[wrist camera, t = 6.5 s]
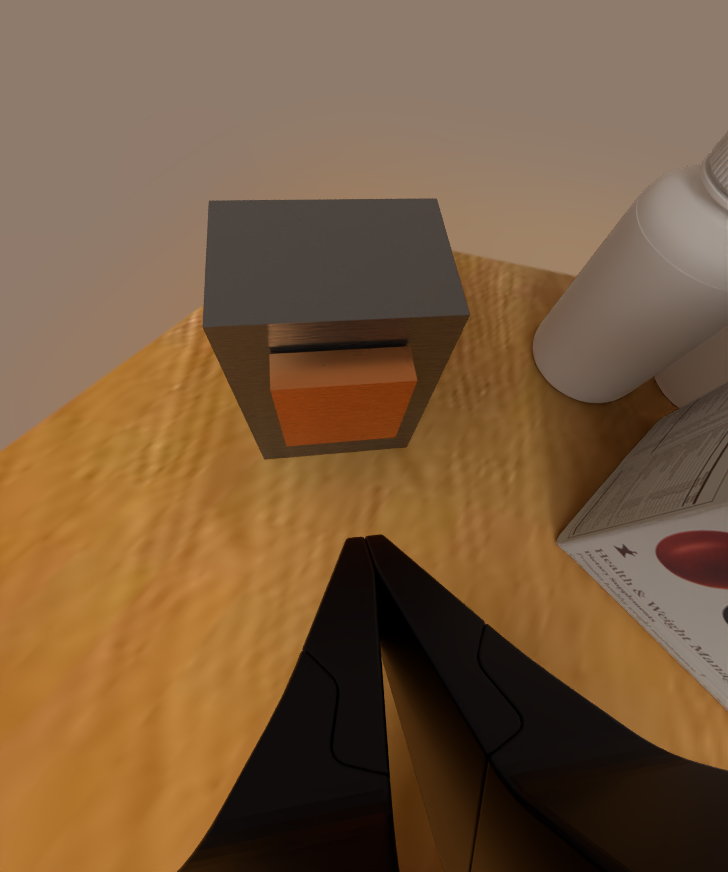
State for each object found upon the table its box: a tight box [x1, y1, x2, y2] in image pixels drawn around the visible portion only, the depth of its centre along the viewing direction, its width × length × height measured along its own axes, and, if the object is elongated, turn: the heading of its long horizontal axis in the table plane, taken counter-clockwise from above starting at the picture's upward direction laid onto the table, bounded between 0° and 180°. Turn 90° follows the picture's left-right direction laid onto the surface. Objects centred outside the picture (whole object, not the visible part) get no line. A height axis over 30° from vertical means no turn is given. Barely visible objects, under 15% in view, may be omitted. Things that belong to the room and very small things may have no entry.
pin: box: [269, 346, 417, 446], centre depth 18 cm, size 8×5×5 cm, turn 7°
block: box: [203, 199, 470, 459], centre depth 20 cm, size 6×9×12 cm, turn 97°
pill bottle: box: [533, 132, 728, 403], centre depth 22 cm, size 8×8×15 cm
